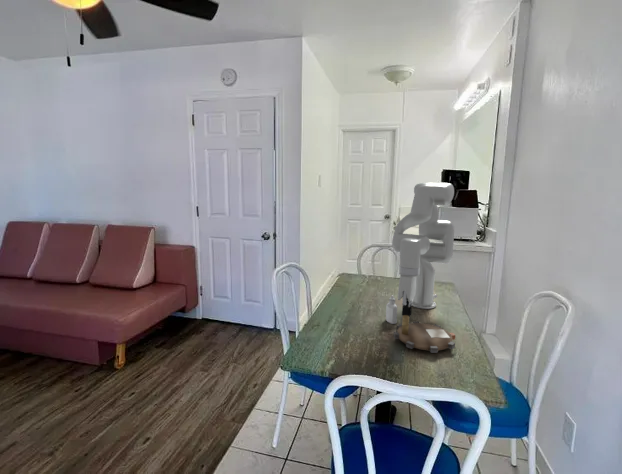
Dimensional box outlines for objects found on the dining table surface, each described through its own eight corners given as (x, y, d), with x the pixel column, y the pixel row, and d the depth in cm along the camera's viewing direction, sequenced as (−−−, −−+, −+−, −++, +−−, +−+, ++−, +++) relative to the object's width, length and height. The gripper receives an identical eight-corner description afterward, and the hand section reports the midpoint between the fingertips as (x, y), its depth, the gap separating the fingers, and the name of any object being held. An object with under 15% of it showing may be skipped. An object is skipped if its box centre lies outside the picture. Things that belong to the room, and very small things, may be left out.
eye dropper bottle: (386, 323, 151) (387, 297, 149) (385, 318, 157) (386, 293, 155) (396, 324, 151) (398, 298, 149) (395, 319, 156) (397, 293, 154)
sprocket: (401, 352, 124) (403, 329, 122) (388, 325, 146) (389, 305, 145) (466, 353, 124) (468, 329, 122) (443, 325, 146) (444, 305, 145)
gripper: (404, 264, 142) (402, 307, 146) (393, 274, 129) (391, 320, 133) (423, 267, 139) (420, 310, 142) (414, 277, 126) (411, 324, 129)
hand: (406, 315), depth 138 cm, fingers closed
